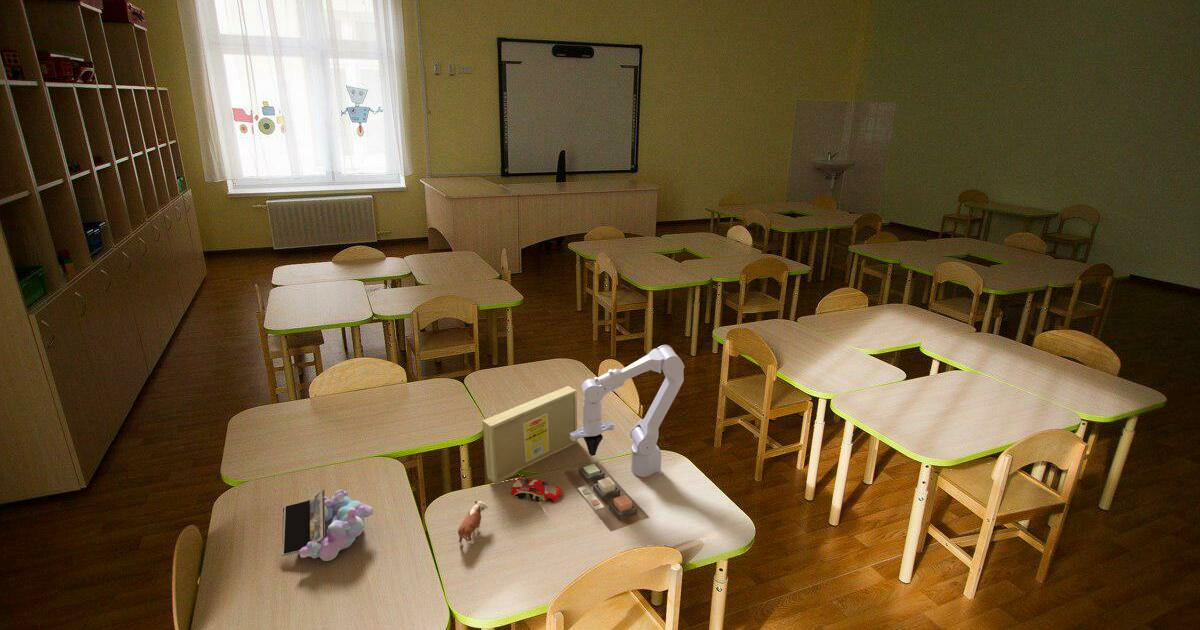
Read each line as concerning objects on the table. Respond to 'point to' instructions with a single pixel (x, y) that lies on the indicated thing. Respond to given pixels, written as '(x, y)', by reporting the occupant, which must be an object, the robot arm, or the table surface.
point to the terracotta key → (622, 503)
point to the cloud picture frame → (322, 525)
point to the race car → (536, 490)
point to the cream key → (606, 485)
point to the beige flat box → (529, 433)
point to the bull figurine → (471, 522)
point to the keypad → (604, 498)
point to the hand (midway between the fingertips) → (592, 454)
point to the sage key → (591, 470)
